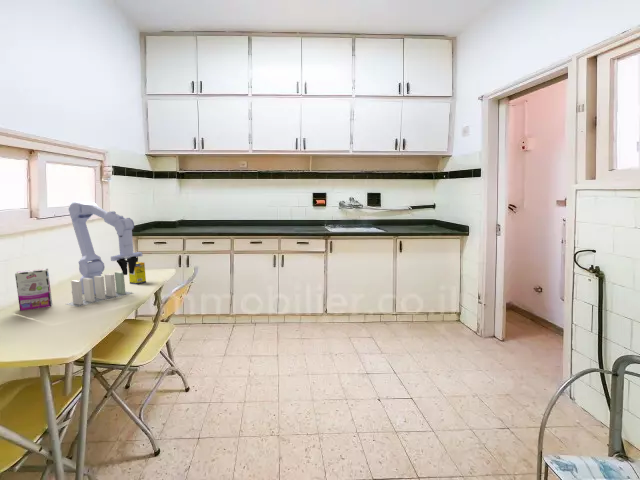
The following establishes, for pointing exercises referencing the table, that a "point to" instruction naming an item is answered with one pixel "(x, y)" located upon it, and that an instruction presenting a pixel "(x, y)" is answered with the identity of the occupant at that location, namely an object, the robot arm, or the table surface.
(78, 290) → the ivory domino
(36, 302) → the candy bar box
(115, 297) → the slate board
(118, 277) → the sage domino
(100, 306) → the table surface
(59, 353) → the table surface
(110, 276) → the ivory domino
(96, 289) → the ivory domino
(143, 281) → the supplement box
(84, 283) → the ivory domino
